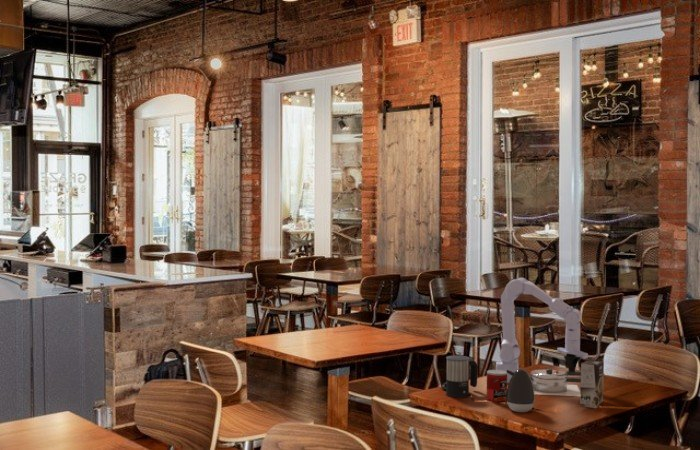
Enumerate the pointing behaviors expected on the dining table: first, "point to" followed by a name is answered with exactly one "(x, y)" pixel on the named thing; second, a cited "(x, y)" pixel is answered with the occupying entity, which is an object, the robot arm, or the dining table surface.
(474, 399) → the dining table surface
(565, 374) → the lid
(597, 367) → the coffee box
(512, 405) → the pump dispenser
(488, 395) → the canned food
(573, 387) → the board
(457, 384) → the milk frother
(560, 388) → the pot
